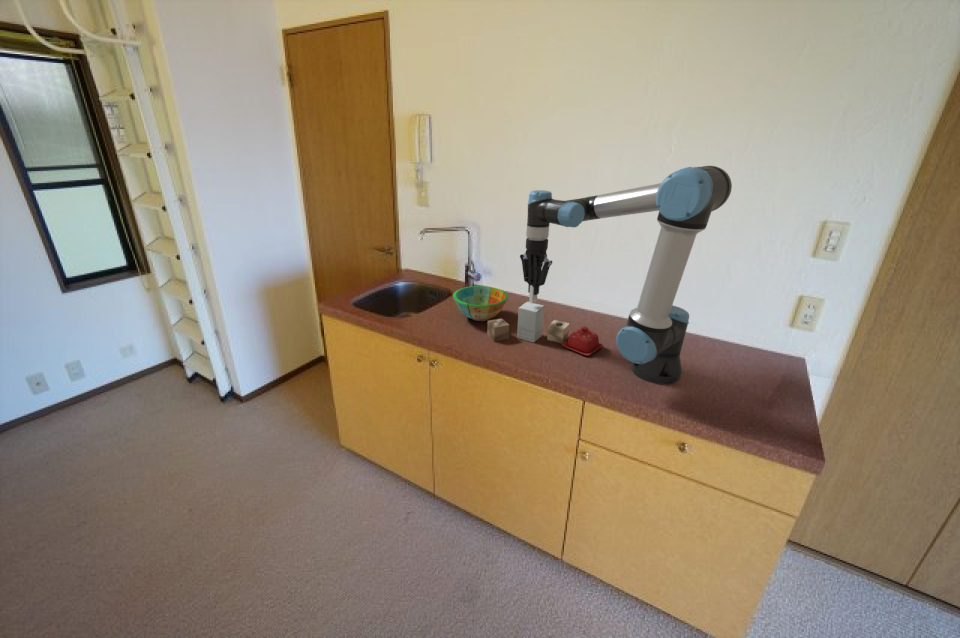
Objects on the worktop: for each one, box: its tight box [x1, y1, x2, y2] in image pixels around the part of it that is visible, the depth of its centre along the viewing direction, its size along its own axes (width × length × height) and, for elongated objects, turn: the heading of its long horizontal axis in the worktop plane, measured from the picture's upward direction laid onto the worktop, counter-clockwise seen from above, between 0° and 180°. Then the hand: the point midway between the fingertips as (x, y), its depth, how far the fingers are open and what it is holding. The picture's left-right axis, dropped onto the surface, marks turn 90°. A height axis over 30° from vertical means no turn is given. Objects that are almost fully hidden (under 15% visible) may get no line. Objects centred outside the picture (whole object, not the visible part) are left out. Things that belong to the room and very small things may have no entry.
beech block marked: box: [546, 319, 570, 345], centre depth 157 cm, size 6×6×6 cm
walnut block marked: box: [486, 318, 510, 342], centre depth 157 cm, size 6×6×6 cm
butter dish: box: [561, 325, 604, 357], centre depth 151 cm, size 12×12×8 cm
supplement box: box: [516, 301, 545, 344], centre depth 156 cm, size 7×7×13 cm
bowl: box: [452, 285, 509, 322], centre depth 172 cm, size 22×22×10 cm
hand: (532, 301), depth 153 cm, fingers closed
